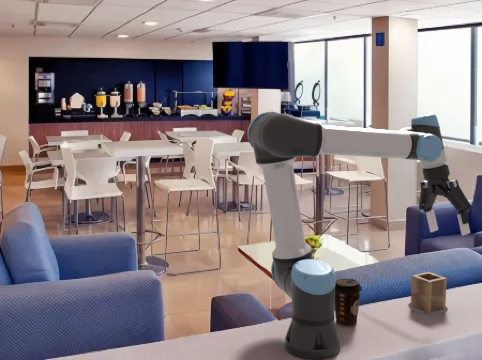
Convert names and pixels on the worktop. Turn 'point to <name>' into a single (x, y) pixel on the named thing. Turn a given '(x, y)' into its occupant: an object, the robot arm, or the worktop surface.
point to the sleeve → (428, 292)
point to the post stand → (426, 312)
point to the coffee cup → (347, 301)
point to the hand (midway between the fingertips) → (449, 232)
